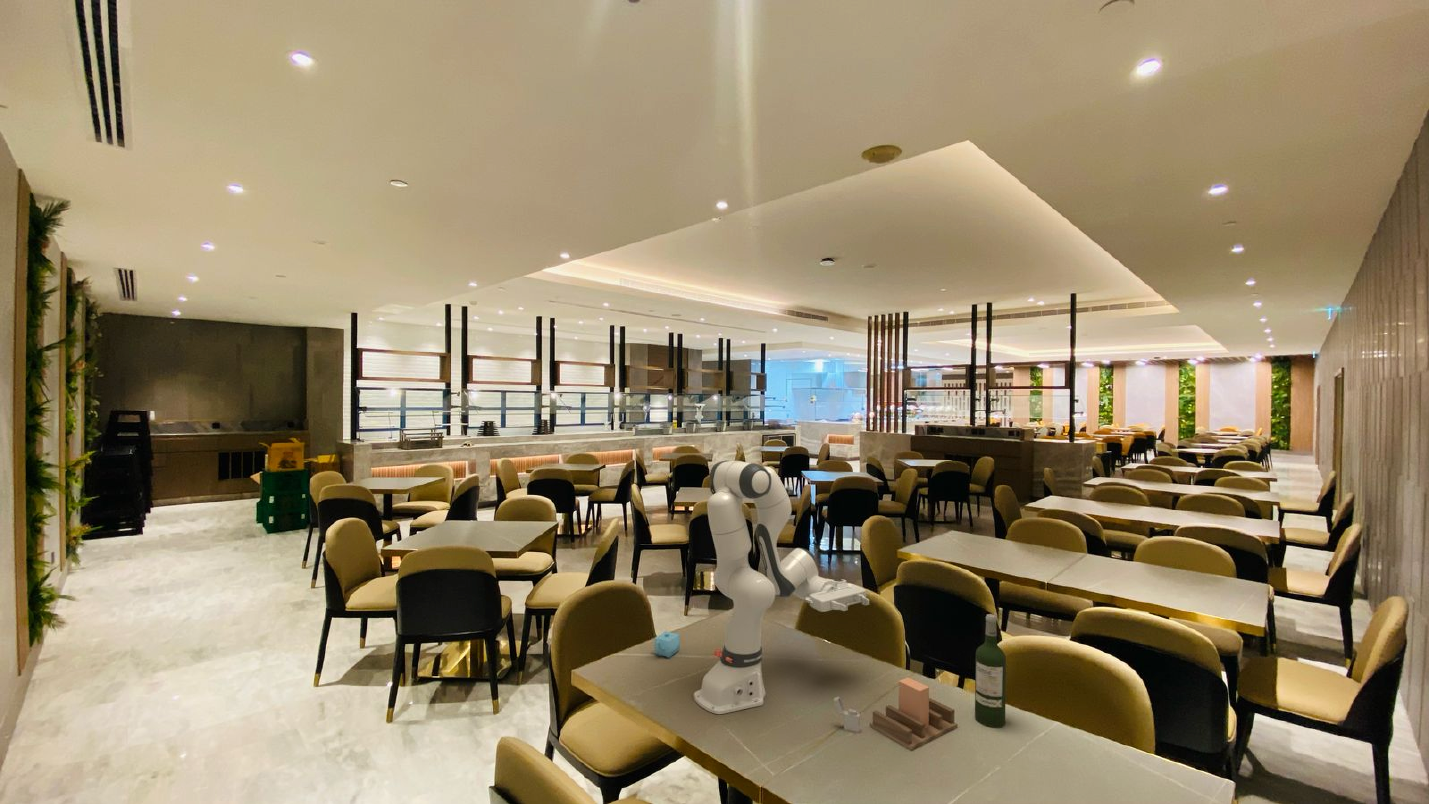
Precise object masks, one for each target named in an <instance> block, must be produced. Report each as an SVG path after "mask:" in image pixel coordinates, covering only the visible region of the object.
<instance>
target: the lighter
mask: <svg viewBox="0 0 1429 804" xmlns="http://www.w3.org/2000/svg"><path fill="white" fill-rule="evenodd" d="M833 702H834V704H835V707H836V709H837V712H838V715H843V723H844V724H843V729H844V730H845V731H850V732H854V733H860V731H861V714H860V713H858V711H856V710H855V709H851V708H849V709H848V710H845V707H844V704H843V703H842V700H841V698H840V696H836V697H834V699H833Z"/></svg>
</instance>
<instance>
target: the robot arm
mask: <svg viewBox="0 0 1429 804" xmlns="http://www.w3.org/2000/svg"><path fill="white" fill-rule="evenodd" d="M709 485H710V486H709V489H710V490H709V491H710V493H711V494H712V495H711V496H710V497H709V498H708V500H707V504H706V505H707V507H706V508H707V509H706V510H707V517H708V524H709V525H708V526H709V528H710V532H711V536H712V541H713V544H714V549H715V554H716V568H715V569H714V572H713V583H714V585H715V586H716V588H717V589H718V591H720V593H722V594H723V595H724V596H725V597H727V598H729V599H731V600H732V602H733V609H732V613H731V615H730V616H729V617H727V619H726V620H725V623H724V628H725V629H724V640H725V641H724V646H723V647H722V650H720V649H718V648H715V649H714V651H713V655H714V656H715V657H717V658H719V660H718V661H717V662H716V663H715V665H713V667H712V668H711V669H710V670H709V671H707V672H706V674H705V675H704V676H703V679H702V682H701V689H699V690H696V691H695V692H694V693H693V699H694V701H695V703H696V704H698V706H700V707H701V708H703V709H704V710H706V712H707V711H708V712H710V713H713V714H716V715H723V714H728V713H733V712H737V711H741V710H746V709H750V708H755V707H760V706H764V698H765V697H766V694H767V692H766V689H765V685H764V679H763V673H762V660H763V648H762V642H761V641H762V640H761V639H762V622H763V617H764V615H765V612H766V610H768V609H770V607H771V606H772V604H773V603H774V602H775V597H779V598H789V597H790V596H791V595H794V596H795V597H797V598H799V599H801V600H804V602H805V603H808V604H809V606H810V607H811V608H812V609H814V610H817V611H818V612H822V613H823V612H829V611H833V610H835V611H843V612H847V611H848V610H849V609H848V608H849V606H852V605H854V604H855V605H856V604H858V603H859V604H860V603H861V605H864V606H868V605H869V606H870V599H869V598H867V590H866V589H865V588H864V587H862V586H860V585H857V584H854V583H850V582H847V580H846V579H842V578H841V579H839V578H838V579H831V578H825V577H821V576H819V574H820V569H819V564H818V560H817V558H816V556H815V554H814V553H812V552H811V551H810V550H808V549H806V548H801V547H796V548H795V549H793V550H792V551H791V552H790V553H788V554H787V555H786V556H785V557H784V558H783V559H782V560H781V561H780V556H779V553H778V549H777V542H778V539H779V537H780V534H781V532H783V531H782V530H783V529H784V528H785V526H786V524H787V523H788V522H789V520H790V518H791V515H792V502H791V500H790V497H789V494H788V492H787V490H786V487H785V485H784V484H783V482H782V480H781V478H780V476H779V475H778V473H777V472H776V471H775V469H773V468H772V467H769V466H762V465H760V464H757V463H755V462H747V461H741V460H721V461H718V462H716V463H715V464H713V466H712V467H711V470H710V472H709ZM746 498H747V499H749V500H750V499H751V500H752V501H753V504H754V506H755V509H756V513H757V525H756V529H755V534H756V540H757V545H758V548H759V551H760V556H761V560H762V564H763V568H764V572H765V575H764V574H763V573H761V572H759V571H757V570H754V569H753V568H752V567H751V566H750V563H749V553H750V552H751V550H752V541H751V537H750V532H749V530H748V529H749V528H748V526H747V525H748V524H747V521H746V517H745V514H744V511H743V499H746Z"/></svg>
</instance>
